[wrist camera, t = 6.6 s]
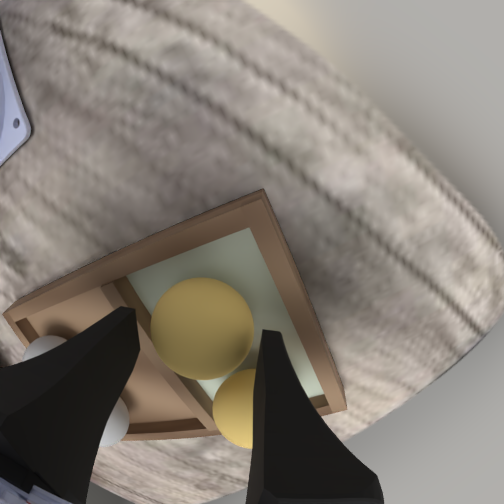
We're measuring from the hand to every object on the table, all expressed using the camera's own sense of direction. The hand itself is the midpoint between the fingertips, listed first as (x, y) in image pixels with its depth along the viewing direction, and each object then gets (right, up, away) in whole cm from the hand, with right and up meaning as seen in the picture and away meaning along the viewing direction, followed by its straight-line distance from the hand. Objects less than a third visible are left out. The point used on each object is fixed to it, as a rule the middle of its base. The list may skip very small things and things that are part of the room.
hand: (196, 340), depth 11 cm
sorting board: (-3, -2, +5) cm, 6 cm away
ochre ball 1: (0, +1, +3) cm, 3 cm away
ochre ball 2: (+2, -3, +4) cm, 6 cm away
